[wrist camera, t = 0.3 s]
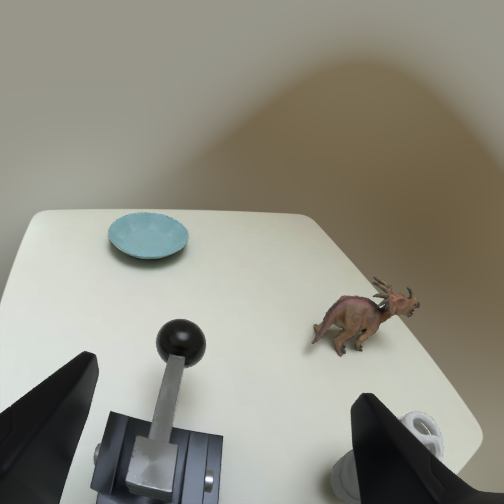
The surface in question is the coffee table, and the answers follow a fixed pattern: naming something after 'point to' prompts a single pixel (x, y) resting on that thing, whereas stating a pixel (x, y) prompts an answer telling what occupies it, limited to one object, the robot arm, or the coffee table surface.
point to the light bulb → (345, 469)
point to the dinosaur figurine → (364, 315)
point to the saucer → (148, 235)
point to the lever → (164, 413)
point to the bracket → (187, 469)
